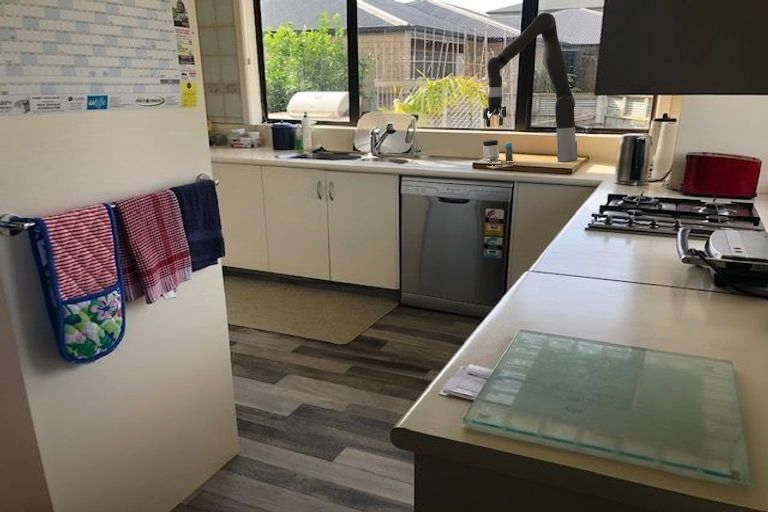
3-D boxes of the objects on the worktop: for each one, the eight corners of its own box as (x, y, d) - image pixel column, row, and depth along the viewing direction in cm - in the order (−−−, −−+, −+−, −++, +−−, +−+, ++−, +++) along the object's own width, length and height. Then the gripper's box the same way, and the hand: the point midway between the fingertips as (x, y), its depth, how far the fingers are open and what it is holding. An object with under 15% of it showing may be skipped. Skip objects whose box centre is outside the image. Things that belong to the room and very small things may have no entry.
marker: (510, 161, 330) (509, 142, 327) (514, 162, 326) (513, 142, 324) (504, 162, 329) (503, 143, 326) (507, 163, 326) (506, 143, 323)
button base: (495, 162, 333) (495, 158, 332) (501, 164, 326) (501, 159, 326) (484, 164, 331) (484, 160, 330) (489, 165, 325) (489, 161, 324)
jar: (486, 163, 336) (484, 142, 332) (482, 161, 343) (480, 140, 340) (501, 161, 337) (500, 140, 333) (496, 159, 344) (495, 139, 341)
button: (494, 159, 331) (494, 154, 330) (498, 160, 326) (498, 155, 326) (486, 160, 330) (486, 155, 329) (490, 161, 325) (490, 156, 325)
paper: (506, 163, 325) (506, 163, 325) (514, 165, 316) (514, 164, 316) (486, 166, 322) (486, 166, 322) (493, 168, 314) (493, 167, 314)
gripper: (488, 96, 314) (488, 127, 319) (509, 95, 320) (509, 125, 325) (480, 96, 320) (479, 126, 325) (501, 94, 326) (500, 124, 331)
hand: (494, 126), depth 325 cm, fingers open, 8 cm apart
